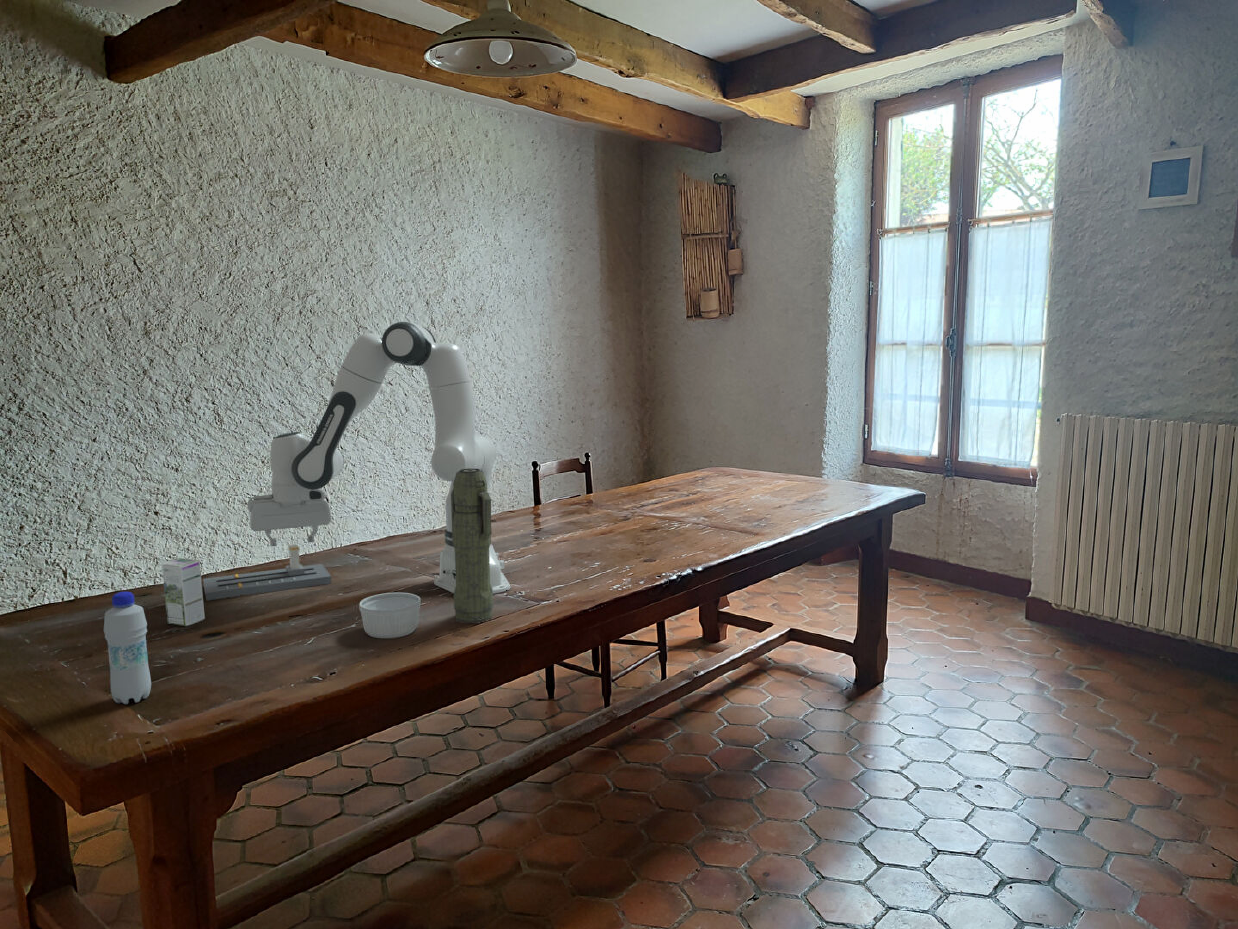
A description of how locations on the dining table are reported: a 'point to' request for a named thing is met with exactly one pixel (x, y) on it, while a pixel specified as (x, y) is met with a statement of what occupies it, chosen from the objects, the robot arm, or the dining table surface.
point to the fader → (294, 562)
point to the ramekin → (390, 614)
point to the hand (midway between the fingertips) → (292, 543)
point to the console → (264, 582)
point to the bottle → (127, 649)
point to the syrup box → (183, 591)
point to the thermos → (471, 546)
